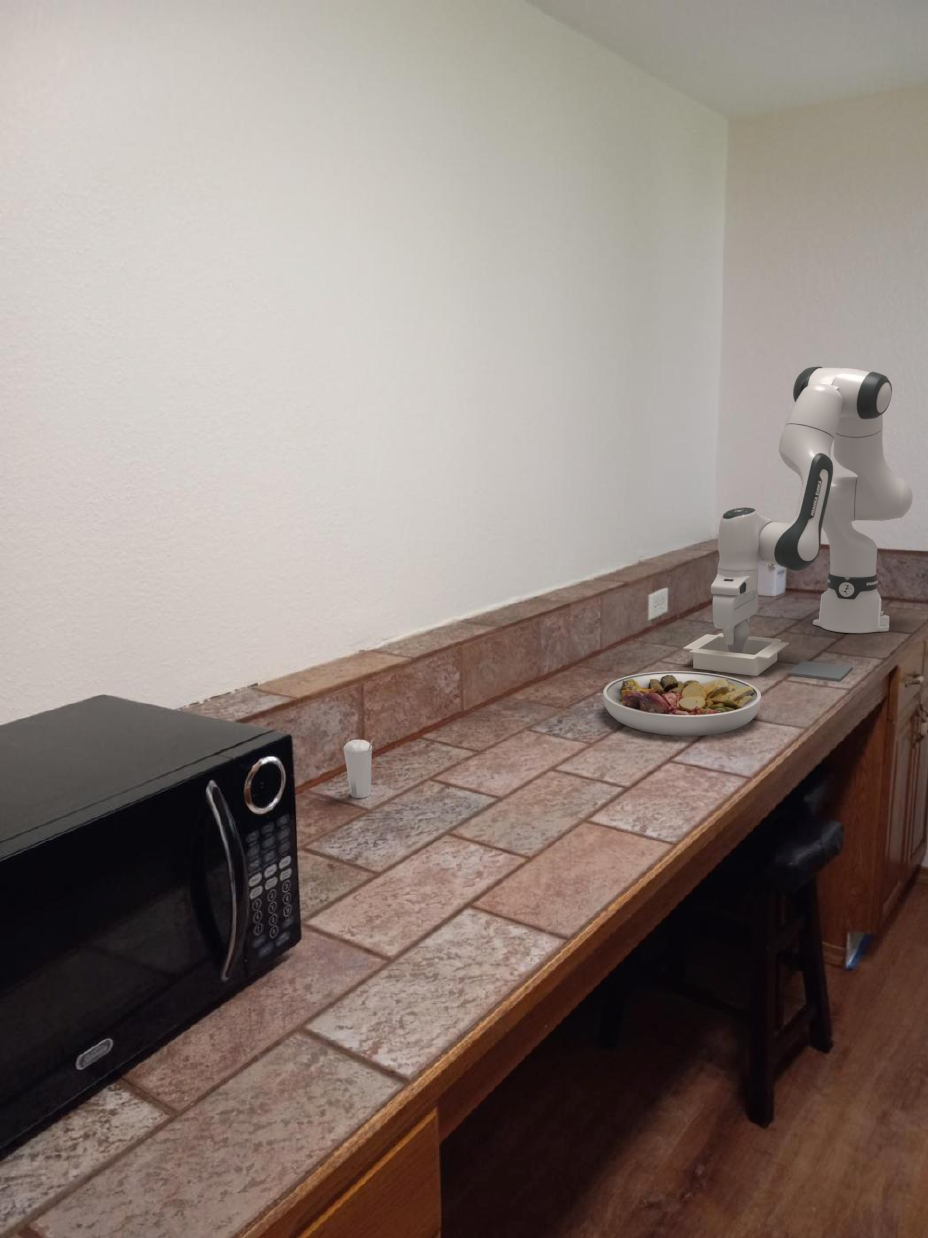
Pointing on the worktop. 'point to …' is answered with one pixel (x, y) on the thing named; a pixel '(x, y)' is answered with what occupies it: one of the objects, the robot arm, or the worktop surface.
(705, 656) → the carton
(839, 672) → the mat
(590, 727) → the worktop surface
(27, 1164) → the worktop surface
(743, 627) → the lightbulb
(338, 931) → the worktop surface
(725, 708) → the bowl
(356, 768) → the milkshake
